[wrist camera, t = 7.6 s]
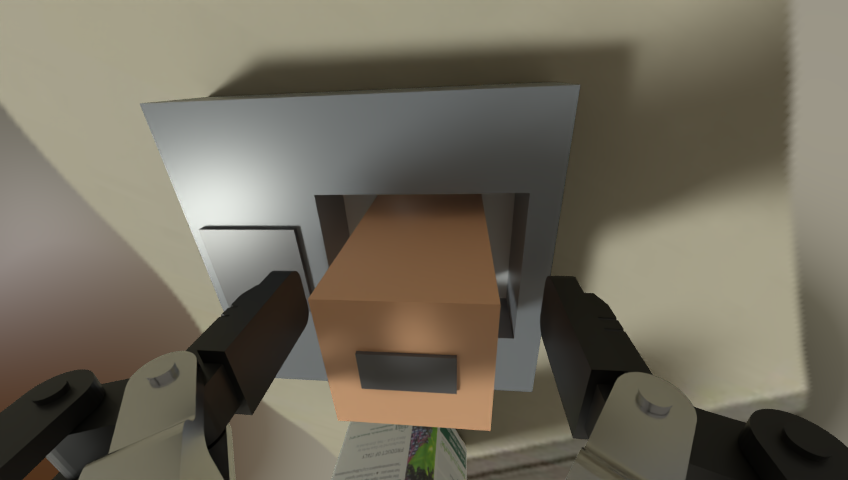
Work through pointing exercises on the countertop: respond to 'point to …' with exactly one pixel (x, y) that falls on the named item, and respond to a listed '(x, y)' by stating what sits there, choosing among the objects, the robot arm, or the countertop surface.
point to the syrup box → (400, 453)
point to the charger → (412, 315)
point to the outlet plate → (371, 186)
